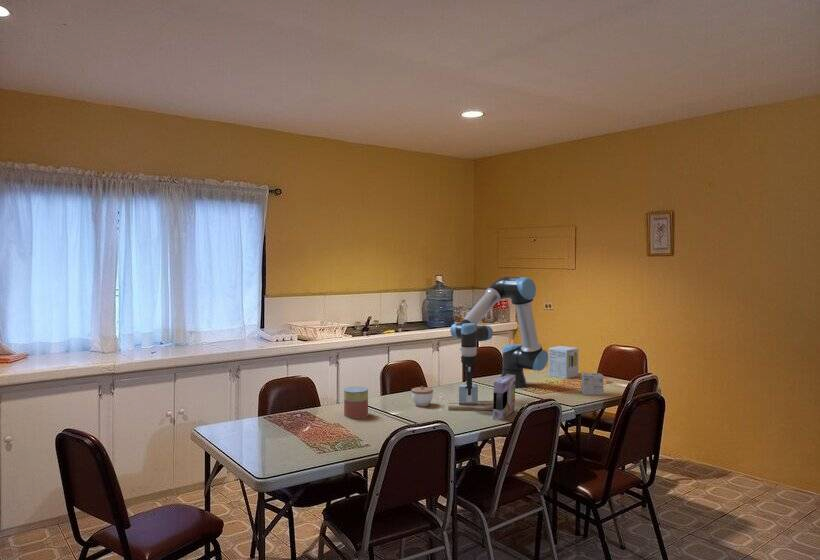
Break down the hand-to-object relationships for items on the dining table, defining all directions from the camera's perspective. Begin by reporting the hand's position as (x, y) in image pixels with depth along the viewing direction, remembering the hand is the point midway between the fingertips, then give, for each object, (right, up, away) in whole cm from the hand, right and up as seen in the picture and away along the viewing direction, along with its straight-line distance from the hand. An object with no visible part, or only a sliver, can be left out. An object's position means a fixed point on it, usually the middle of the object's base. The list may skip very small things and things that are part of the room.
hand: (468, 398), depth 283 cm
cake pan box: (+15, -5, -15) cm, 22 cm away
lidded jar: (-23, -4, +5) cm, 24 cm away
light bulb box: (+69, -3, +27) cm, 74 cm away
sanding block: (0, -3, 0) cm, 3 cm away
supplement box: (+66, -1, +74) cm, 99 cm away
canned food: (-54, -5, -13) cm, 56 cm away
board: (+3, -4, 0) cm, 5 cm away
